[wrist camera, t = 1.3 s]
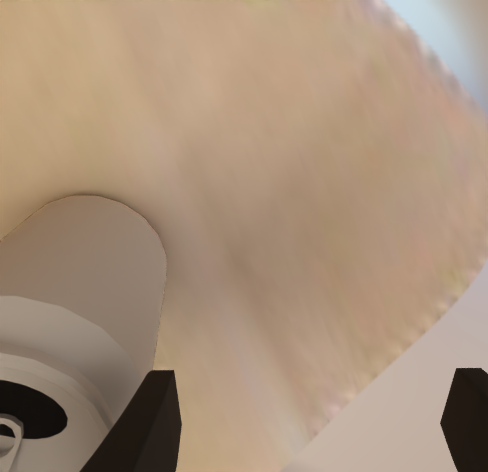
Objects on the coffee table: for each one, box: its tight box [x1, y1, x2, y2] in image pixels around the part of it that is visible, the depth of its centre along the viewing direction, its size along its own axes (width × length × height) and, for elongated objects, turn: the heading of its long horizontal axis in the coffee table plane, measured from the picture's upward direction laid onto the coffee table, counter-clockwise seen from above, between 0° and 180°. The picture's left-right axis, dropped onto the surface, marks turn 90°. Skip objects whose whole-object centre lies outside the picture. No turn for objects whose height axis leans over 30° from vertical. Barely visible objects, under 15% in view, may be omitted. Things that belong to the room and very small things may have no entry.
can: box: [0, 196, 167, 472], centre depth 16 cm, size 8×8×12 cm
